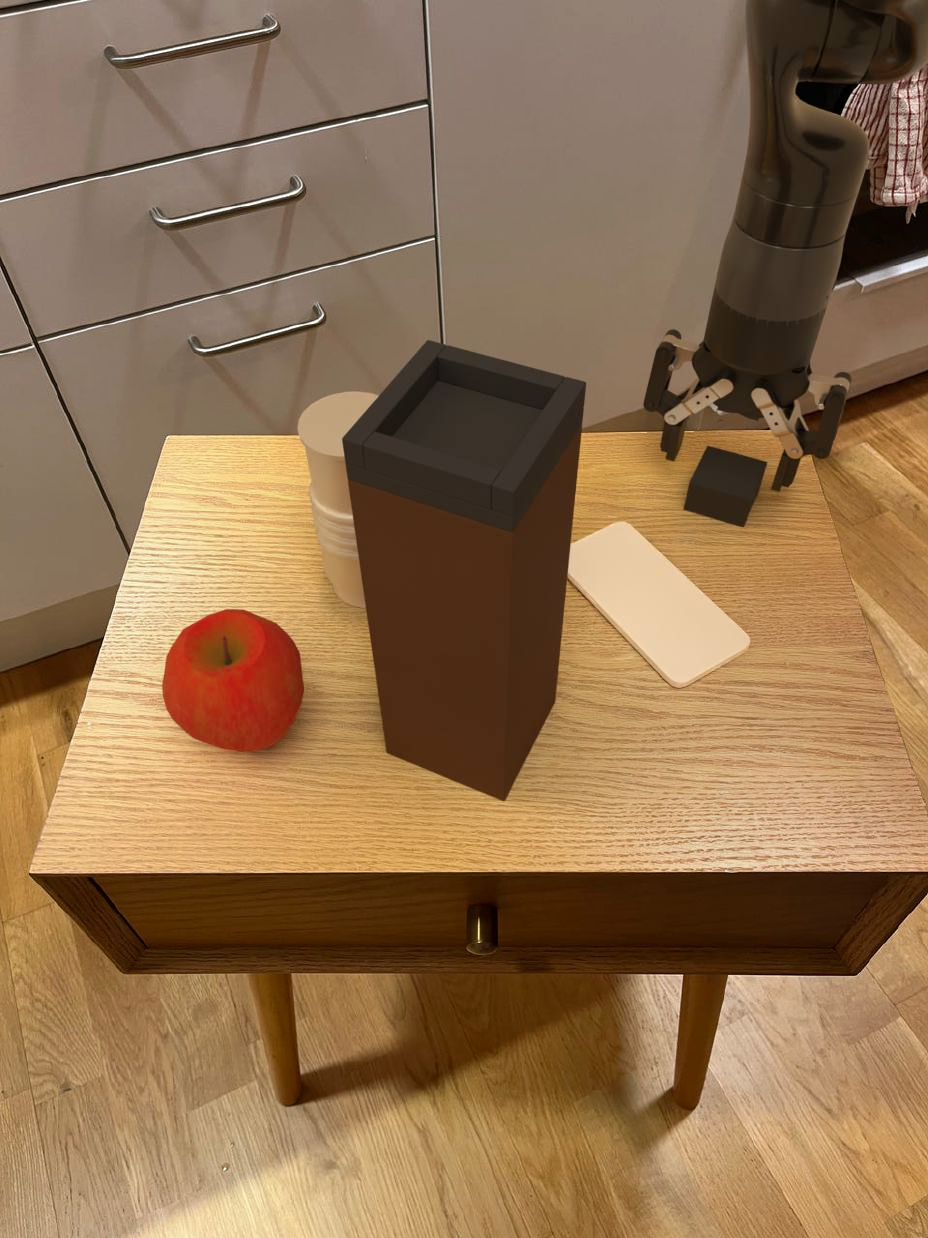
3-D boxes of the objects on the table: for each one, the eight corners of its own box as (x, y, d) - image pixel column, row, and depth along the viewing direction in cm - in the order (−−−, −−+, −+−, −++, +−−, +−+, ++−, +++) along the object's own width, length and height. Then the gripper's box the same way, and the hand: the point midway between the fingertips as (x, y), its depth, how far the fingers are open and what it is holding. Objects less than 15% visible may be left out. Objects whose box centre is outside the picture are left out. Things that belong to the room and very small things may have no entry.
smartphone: (677, 687, 66) (549, 554, 74) (675, 693, 67) (549, 560, 75) (756, 641, 68) (624, 517, 77) (754, 648, 69) (623, 524, 77)
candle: (395, 536, 77) (380, 380, 65) (428, 595, 73) (417, 439, 61) (313, 562, 75) (283, 405, 64) (342, 624, 71) (315, 469, 60)
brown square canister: (555, 702, 66) (587, 381, 46) (504, 802, 61) (514, 491, 41) (443, 660, 69) (427, 338, 49) (386, 753, 64) (341, 438, 44)
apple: (180, 795, 62) (133, 697, 54) (199, 688, 67) (159, 585, 59) (313, 789, 62) (287, 691, 54) (321, 684, 68) (298, 579, 59)
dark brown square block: (759, 489, 80) (767, 461, 78) (743, 527, 77) (751, 499, 75) (701, 472, 81) (707, 444, 79) (683, 509, 78) (689, 481, 76)
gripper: (653, 289, 64) (624, 473, 77) (871, 340, 60) (803, 526, 73) (686, 236, 68) (654, 419, 81) (891, 281, 64) (824, 466, 77)
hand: (724, 469), depth 77 cm, fingers open, 8 cm apart
